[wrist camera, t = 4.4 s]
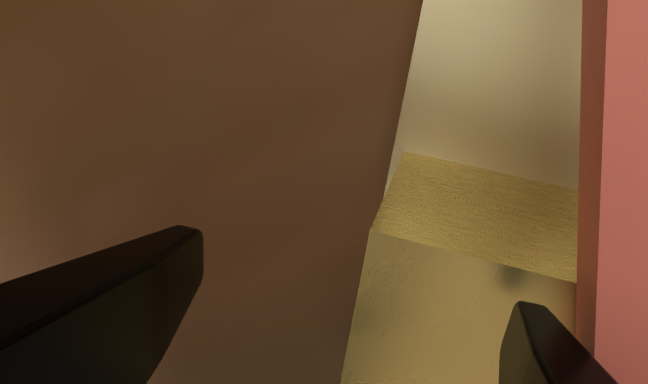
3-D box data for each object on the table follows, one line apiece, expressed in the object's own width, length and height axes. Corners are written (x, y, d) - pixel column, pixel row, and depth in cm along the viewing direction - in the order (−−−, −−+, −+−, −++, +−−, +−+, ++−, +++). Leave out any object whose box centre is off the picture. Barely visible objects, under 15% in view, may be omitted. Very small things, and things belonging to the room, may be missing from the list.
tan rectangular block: (523, 390, 14) (534, 533, 11) (362, 342, 15) (324, 460, 12) (604, 196, 12) (653, 303, 8) (404, 150, 12) (369, 230, 9)
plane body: (506, 400, 17) (512, 615, 12) (357, 355, 18) (298, 533, 13) (758, -229, 10) (1105, -458, 4) (483, -250, 11) (475, -457, 5)
